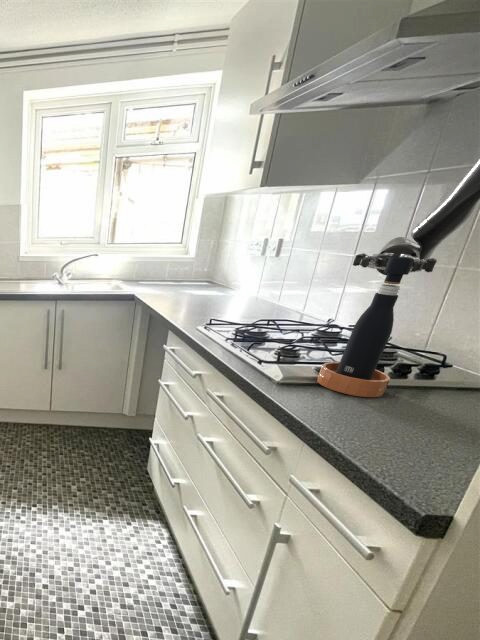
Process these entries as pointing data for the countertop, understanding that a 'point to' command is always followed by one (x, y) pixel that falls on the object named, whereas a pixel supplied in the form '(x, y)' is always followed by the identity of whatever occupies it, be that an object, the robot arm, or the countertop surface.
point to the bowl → (352, 382)
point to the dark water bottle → (374, 325)
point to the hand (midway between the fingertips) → (389, 264)
